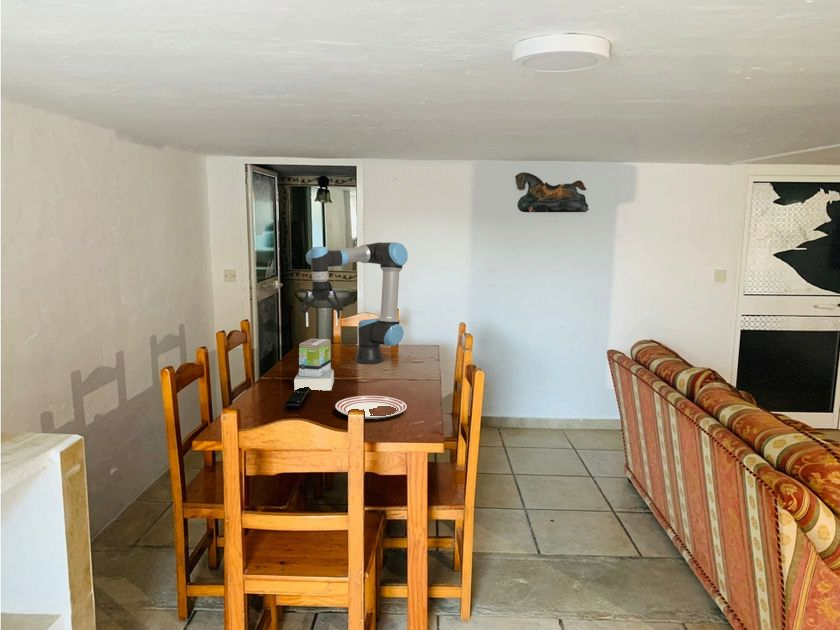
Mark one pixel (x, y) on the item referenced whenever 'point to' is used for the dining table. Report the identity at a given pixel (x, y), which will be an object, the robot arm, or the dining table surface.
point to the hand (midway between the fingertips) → (322, 326)
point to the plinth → (315, 381)
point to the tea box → (314, 357)
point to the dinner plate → (370, 405)
